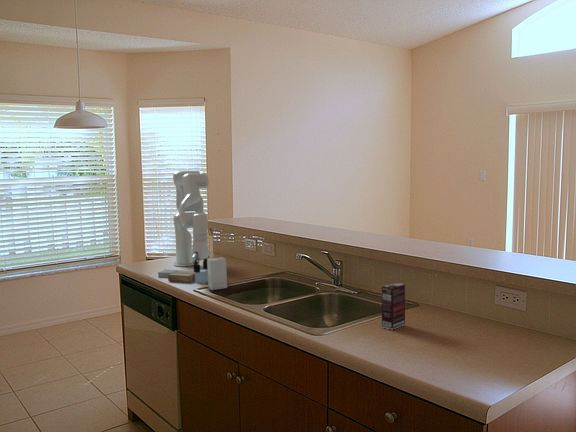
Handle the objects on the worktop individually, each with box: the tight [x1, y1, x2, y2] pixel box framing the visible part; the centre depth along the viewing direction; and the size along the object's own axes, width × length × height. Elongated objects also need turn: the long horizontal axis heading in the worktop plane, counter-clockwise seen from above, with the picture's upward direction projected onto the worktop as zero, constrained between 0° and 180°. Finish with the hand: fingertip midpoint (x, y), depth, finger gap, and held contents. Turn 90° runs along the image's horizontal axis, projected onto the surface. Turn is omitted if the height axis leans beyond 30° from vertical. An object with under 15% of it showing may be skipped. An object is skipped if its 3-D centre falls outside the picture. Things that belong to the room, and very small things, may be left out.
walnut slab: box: [167, 269, 195, 284], centre depth 277 cm, size 12×12×4 cm
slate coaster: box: [157, 269, 179, 278], centre depth 287 cm, size 8×8×3 cm
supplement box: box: [381, 282, 406, 331], centre depth 194 cm, size 9×5×16 cm, turn 133°
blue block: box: [194, 269, 208, 284], centre depth 271 cm, size 5×5×6 cm
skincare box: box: [207, 256, 228, 291], centre depth 257 cm, size 8×6×15 cm
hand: (201, 270), depth 271 cm, fingers open, 9 cm apart
